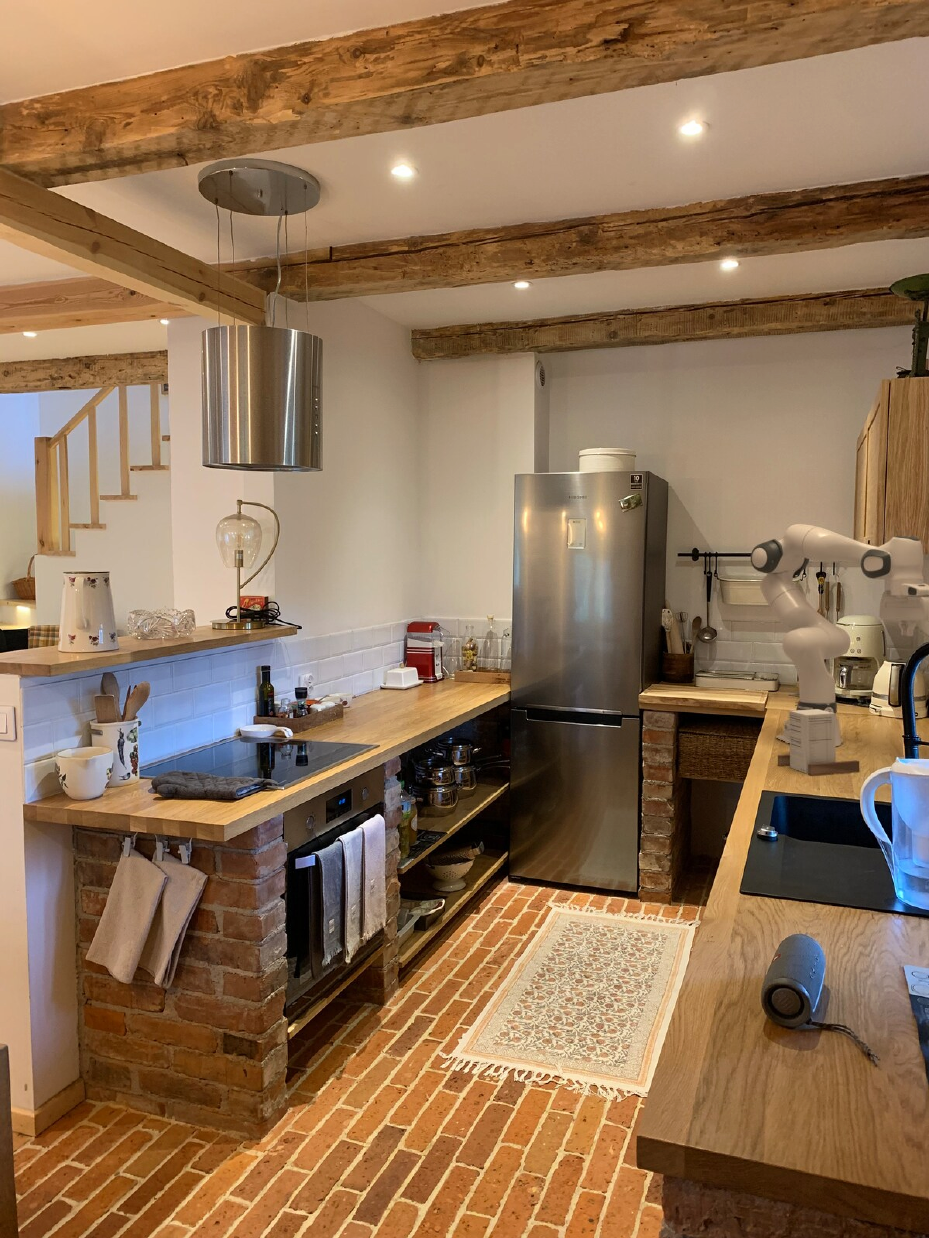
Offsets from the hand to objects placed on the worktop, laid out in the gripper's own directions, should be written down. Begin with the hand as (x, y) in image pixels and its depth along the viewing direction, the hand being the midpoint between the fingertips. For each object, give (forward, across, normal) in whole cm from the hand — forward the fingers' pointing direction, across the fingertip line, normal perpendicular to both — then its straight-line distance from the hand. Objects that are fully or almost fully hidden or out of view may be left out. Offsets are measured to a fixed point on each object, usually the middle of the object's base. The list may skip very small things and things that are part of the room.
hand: (907, 636), depth 268 cm
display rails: (+37, +2, -33) cm, 49 cm away
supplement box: (+37, +3, -35) cm, 51 cm away
